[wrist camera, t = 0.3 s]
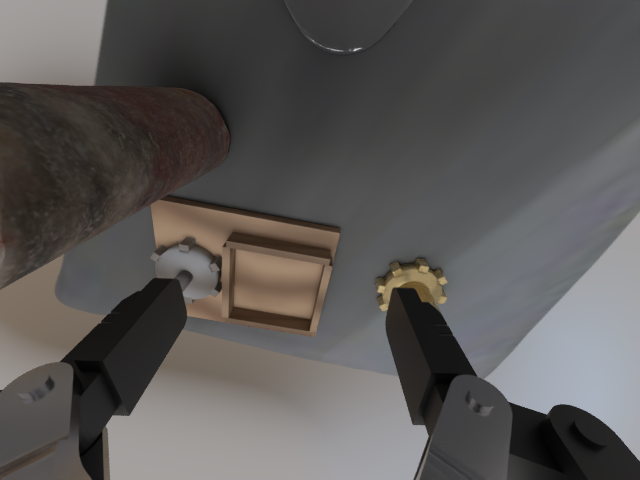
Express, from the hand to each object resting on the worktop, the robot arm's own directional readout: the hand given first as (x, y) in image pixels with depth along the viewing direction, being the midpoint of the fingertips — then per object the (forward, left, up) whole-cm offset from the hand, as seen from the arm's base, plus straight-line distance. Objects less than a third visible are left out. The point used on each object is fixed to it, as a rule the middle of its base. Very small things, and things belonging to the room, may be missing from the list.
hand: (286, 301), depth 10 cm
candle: (-2, -12, -19) cm, 23 cm away
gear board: (+13, -6, -19) cm, 24 cm away
